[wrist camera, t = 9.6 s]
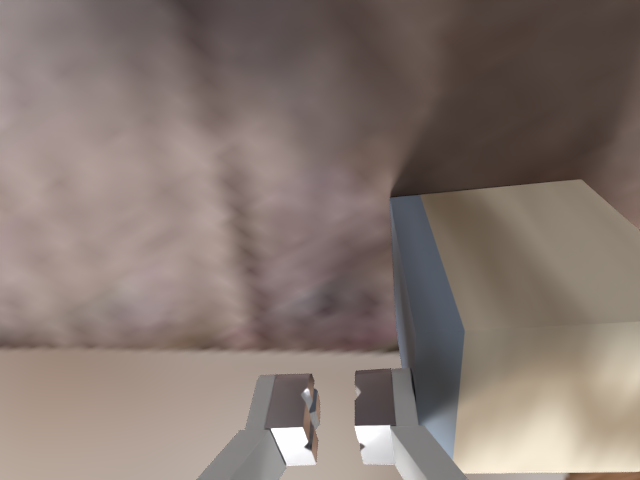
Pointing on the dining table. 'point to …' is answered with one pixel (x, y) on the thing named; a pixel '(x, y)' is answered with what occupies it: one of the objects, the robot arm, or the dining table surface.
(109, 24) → the dining table surface
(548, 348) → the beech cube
